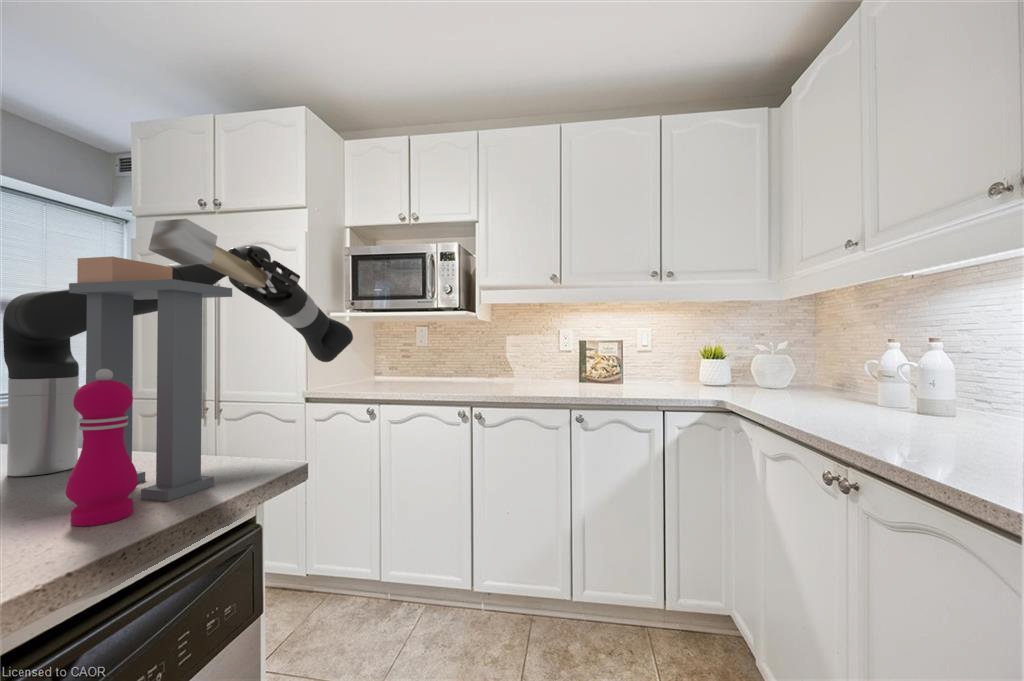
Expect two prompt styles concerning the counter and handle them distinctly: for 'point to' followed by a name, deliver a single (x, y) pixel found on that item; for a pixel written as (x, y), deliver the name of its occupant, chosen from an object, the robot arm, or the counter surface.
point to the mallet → (200, 250)
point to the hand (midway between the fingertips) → (238, 251)
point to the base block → (119, 270)
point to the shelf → (174, 369)
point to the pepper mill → (102, 454)
